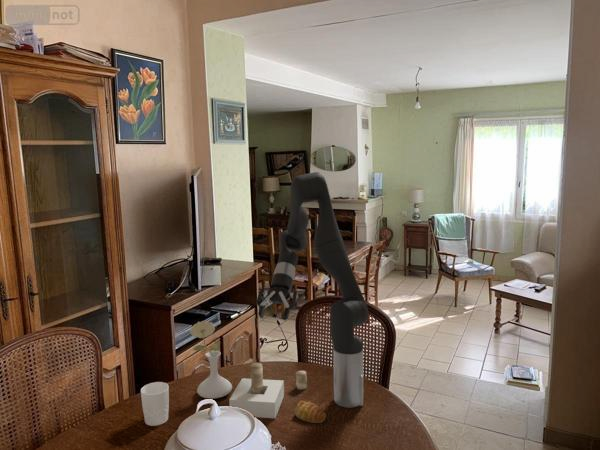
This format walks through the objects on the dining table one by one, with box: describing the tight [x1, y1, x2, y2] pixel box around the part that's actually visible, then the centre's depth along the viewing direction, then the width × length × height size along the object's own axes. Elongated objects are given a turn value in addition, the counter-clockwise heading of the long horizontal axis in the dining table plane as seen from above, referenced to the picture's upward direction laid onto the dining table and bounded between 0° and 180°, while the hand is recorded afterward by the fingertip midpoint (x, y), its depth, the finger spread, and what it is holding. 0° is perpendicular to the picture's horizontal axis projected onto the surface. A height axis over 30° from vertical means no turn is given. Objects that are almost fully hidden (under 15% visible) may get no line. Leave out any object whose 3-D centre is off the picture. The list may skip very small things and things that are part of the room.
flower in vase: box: [189, 320, 233, 400], centre depth 149 cm, size 13×11×25 cm
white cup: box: [140, 381, 170, 427], centre depth 135 cm, size 8×8×10 cm
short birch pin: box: [295, 370, 308, 391], centre depth 153 cm, size 4×4×5 cm
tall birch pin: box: [250, 362, 264, 394], centre depth 142 cm, size 4×4×13 cm
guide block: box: [228, 377, 285, 419], centre depth 142 cm, size 14×14×5 cm
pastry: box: [294, 400, 327, 424], centre depth 135 cm, size 9×7×4 cm
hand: (272, 318), depth 155 cm, fingers open, 8 cm apart
